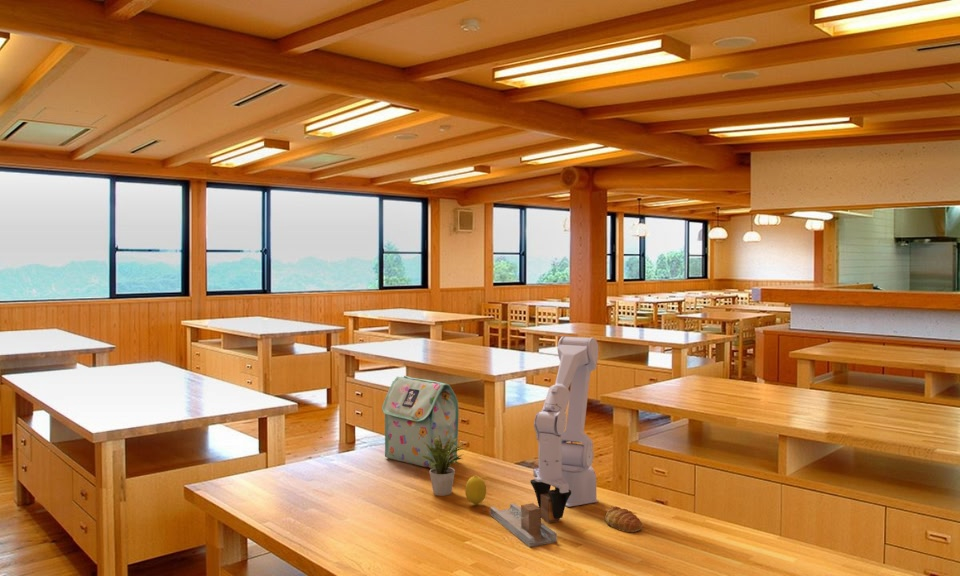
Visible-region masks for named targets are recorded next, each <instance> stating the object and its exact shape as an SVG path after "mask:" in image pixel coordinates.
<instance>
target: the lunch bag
mask: <svg viewBox="0 0 960 576" xmlns="http://www.w3.org/2000/svg"><path fill="white" fill-rule="evenodd" d="M457 398H458V397H457V396H456V393H455V392H454V389H452V386H451V385H450V384H448V383H444V382H439V381H434V380H431V379H425V378H422V379H421V378H417V377H416V378H415V377H410V376H407V375H404V376H396V377H395V378H394V380H392V382H391V384H390V386H389V389H388V391H387V393H386V396H385V398H384V401H383V404H382V406H381V410H382V412H383V414H384V457H385V458H387V459H391V460H394V461H398V462H404V463H407V464H411V465H416V466H419V467H424V468H430V466H431V461H430V460H428V459H425V458H421V456H427V457H429V458H431V459H432V460H433V461H434V462H435V463H436V461H435V459H434V457H433V456H432V455H433V454H432V452H431V451H430V450H429V448H428V447H427V445H426V444H425V443H427V444H428V445H429V446H430V447H433V448H435V444H434V443H435V437H437V439H438V441H439V436H440V439H441V442H442V449H444V446H445V444H446V443H447V441H448V439H449V438H450V436H451V435H452V437H451V440H450V443H451V442H452V441H453V440H454V439H456V438H457V440H456V441H455V442H454V445H453V447H452V448H451V450H452V449H453V448H454V446H457V445H458V441H459V439H458V436H459V417H460V413H459V411H460V410H459V408H460V407H459V402H458V401H459V400H458V399H457ZM424 442H425V443H424ZM450 443H449V444H450ZM426 448H427V449H428V450H429V451H430V452H431V453H430V452H429V451H428V450H427V449H426ZM456 448H457V447H456ZM456 448H455V449H456ZM455 449H454V450H455ZM457 449H458V448H457ZM451 450H450V451H451ZM453 455H458V451H456V452H454V453H453V454H452V455H450V456H453ZM450 456H449V457H450ZM457 457H458V456H455V457H453V458H452V459H451V460H453V459H454V458H457ZM448 459H449V458H448ZM451 460H450V461H451ZM450 461H449V462H450ZM456 461H457V462H458V460H456ZM433 468H435V465H434V467H432V468H431V469H433Z"/></svg>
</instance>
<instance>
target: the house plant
mask: <svg viewBox="0 0 960 576" xmlns="http://www.w3.org/2000/svg"><path fill="white" fill-rule="evenodd" d="M451 437H452V435H451V436H450V438H449V439H448V441H447V443H446V444H445V446H444V449H442V442H441V439H440V436H439V441H438V439H437V437H435V443H434V444H435V448H433V447H430V446H429V445H428V444H427V443H425V442H424V443H425V444H426V445H427V447H428V448H429V450H430V451H431V452H432V454H433V455H432V456H433V457H434V459H435V461H436V463H435V462H434V461H433V460H432V459H431V458H429V457H427V456H421V458H425V459H428V460H430V461H431V466H430V467H429V468H430V470H429V477H430V483H431V487H432V492H433V495H435V496H441V497H442V496H450V495H451V494H452V492H453V486H454V477H455V473H456V470H455V468H452V467H451V466H452V464H453V463H454V464H456V465H457V466H458V467H459V466H460V465H459V462H458V460H463V457H462V456H463V454H460V455H458V454H457V455H453V456H450V455H452V454H453V453H454V452H456V451H457V452H458V451H461V450H464V449H465V450H466V449H467V447H462V445H464V444H468V443H469V442H462V443H459V444H457V446H454V448H453V449H452V450H451V448H452V447H453V445H454V442H455V441H456V440H457V438H456V439H454V440H453V441H452V442H451V443H450V440H451ZM458 438H459V437H458ZM449 443H450V444H449ZM456 447H457V448H456ZM455 448H456V449H455ZM426 449H427V448H426ZM454 449H455V450H454ZM427 450H428V449H427ZM429 450H428V451H429ZM450 450H451V451H450ZM430 451H429V452H430ZM431 452H430V453H431ZM449 456H450V457H449ZM455 456H457V458H454V459H453V460H451V459H452V458H453V457H455ZM448 458H449V459H448ZM450 460H451V461H450ZM456 460H457V461H456ZM449 461H450V462H449ZM434 465H435V467H434ZM432 467H434V468H432Z"/></svg>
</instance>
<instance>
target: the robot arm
mask: <svg viewBox="0 0 960 576" xmlns="http://www.w3.org/2000/svg"><path fill="white" fill-rule="evenodd" d="M557 355H558V359H559V361H560V362H559V366H558V369H557V375H556V378H555V382H554V384H552V385H551V386H550V387H549V388H548V392H547V394H546V397H545V400H544V403H543V407H542V409H541V410H540V411H538V412H537V413H536V415H535V417H534V422H533V428H534V432H535V435H536V436H535V438H536V441H538V468H533V471H532V472H533V473H532V475H533V477H534V478H533V479H531V480H530V484H531V487H532V488H533V490H534V493H535V496H536V501H537V504H538V505H537V506H538V507H539V508H541V494H545V493H548V494H549V496H550V499H551V503H552V510H553V516H554V518H555V519H558V518H560V519H562V518H563V517H564V513H565V509H566V508H567V507H568V508H570V507H575V506H580V505H582V506H583V505H586V504H593V503H598V502H599V500H598V498H597V475H596V471H595V469H594V468H593V467H592V464H593V460H594V451H593V450H594V442H593V440H592V438H590V437H589V435H588V434H586V433H585V427H586V426H585V425H586V416H587V415H586V414H587V407H588V406H587V405H588V398H589V388H590V387H589V386H590V380H591V379H590V378H591V372H593V371H594V370H596V369H597V365H598V361H599V360H598V359H599V357H598V356H599V345H598V341H597V340H596V338H595V337H593V336H591V337H578V336H565V335H563V336H561V337H560V338H559V340H558V342H557ZM569 388H570V390H569ZM566 411H567V413H566ZM551 486H552V487H554V489H551Z"/></svg>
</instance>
